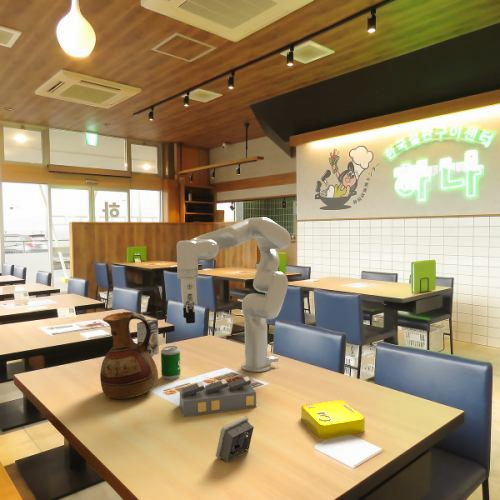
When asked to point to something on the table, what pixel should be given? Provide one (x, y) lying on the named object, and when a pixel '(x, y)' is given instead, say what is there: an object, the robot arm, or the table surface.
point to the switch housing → (217, 400)
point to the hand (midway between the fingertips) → (189, 320)
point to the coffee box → (153, 341)
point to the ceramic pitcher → (127, 360)
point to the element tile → (332, 419)
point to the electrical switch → (234, 439)
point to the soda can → (170, 362)
